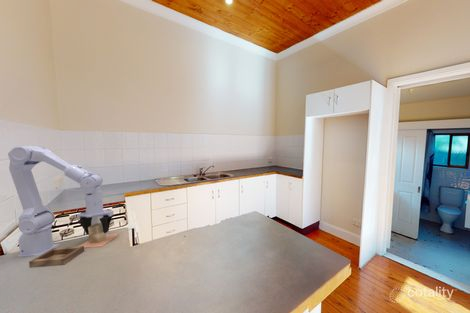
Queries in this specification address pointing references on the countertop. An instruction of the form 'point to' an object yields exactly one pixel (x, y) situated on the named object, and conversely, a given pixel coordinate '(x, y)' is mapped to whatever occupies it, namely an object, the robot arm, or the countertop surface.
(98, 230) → the maple block
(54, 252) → the walnut pocket
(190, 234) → the countertop surface
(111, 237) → the terracotta tile
